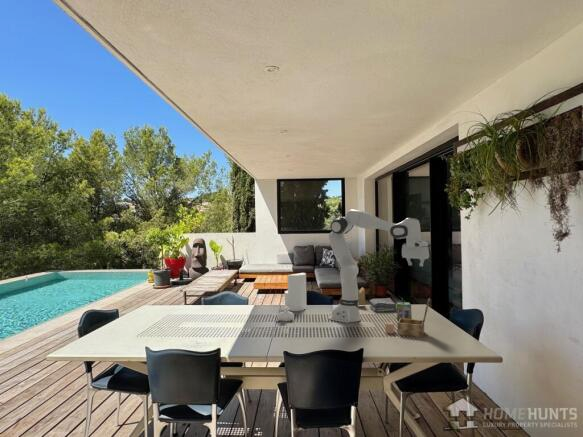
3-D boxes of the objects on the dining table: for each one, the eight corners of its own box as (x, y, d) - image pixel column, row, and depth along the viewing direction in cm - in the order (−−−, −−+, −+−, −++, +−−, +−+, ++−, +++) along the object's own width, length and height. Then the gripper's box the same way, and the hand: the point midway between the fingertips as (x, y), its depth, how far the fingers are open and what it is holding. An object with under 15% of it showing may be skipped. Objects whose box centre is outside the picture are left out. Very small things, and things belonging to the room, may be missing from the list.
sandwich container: (344, 305, 281) (344, 287, 282) (362, 305, 282) (362, 286, 282) (346, 308, 273) (345, 289, 273) (365, 307, 273) (364, 288, 273)
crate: (397, 334, 205) (397, 322, 205) (400, 329, 215) (400, 318, 215) (422, 337, 199) (422, 325, 199) (424, 332, 208) (424, 320, 209)
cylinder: (311, 308, 272) (310, 273, 272) (296, 313, 259) (295, 276, 260) (295, 305, 283) (294, 271, 284) (280, 309, 271) (279, 274, 272)
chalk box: (411, 322, 230) (411, 300, 230) (397, 321, 232) (397, 299, 232) (410, 318, 239) (409, 297, 239) (396, 318, 241) (396, 297, 241)
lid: (427, 301, 198) (429, 302, 197) (428, 297, 207) (430, 298, 207) (422, 324, 199) (424, 325, 198) (424, 319, 209) (425, 320, 208)
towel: (368, 307, 272) (368, 298, 273) (391, 307, 273) (391, 297, 274) (374, 312, 257) (374, 302, 257) (398, 312, 258) (398, 301, 258)
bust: (294, 319, 240) (294, 303, 240) (294, 323, 232) (294, 306, 233) (277, 320, 239) (277, 304, 240) (277, 323, 232) (276, 306, 232)
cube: (385, 332, 208) (385, 323, 208) (386, 330, 212) (386, 322, 212) (393, 333, 206) (392, 324, 206) (394, 331, 210) (394, 322, 210)
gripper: (398, 243, 221) (400, 265, 220) (422, 244, 202) (423, 267, 201) (406, 243, 223) (407, 264, 223) (430, 243, 204) (431, 266, 204)
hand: (415, 265), depth 212 cm, fingers open, 8 cm apart
